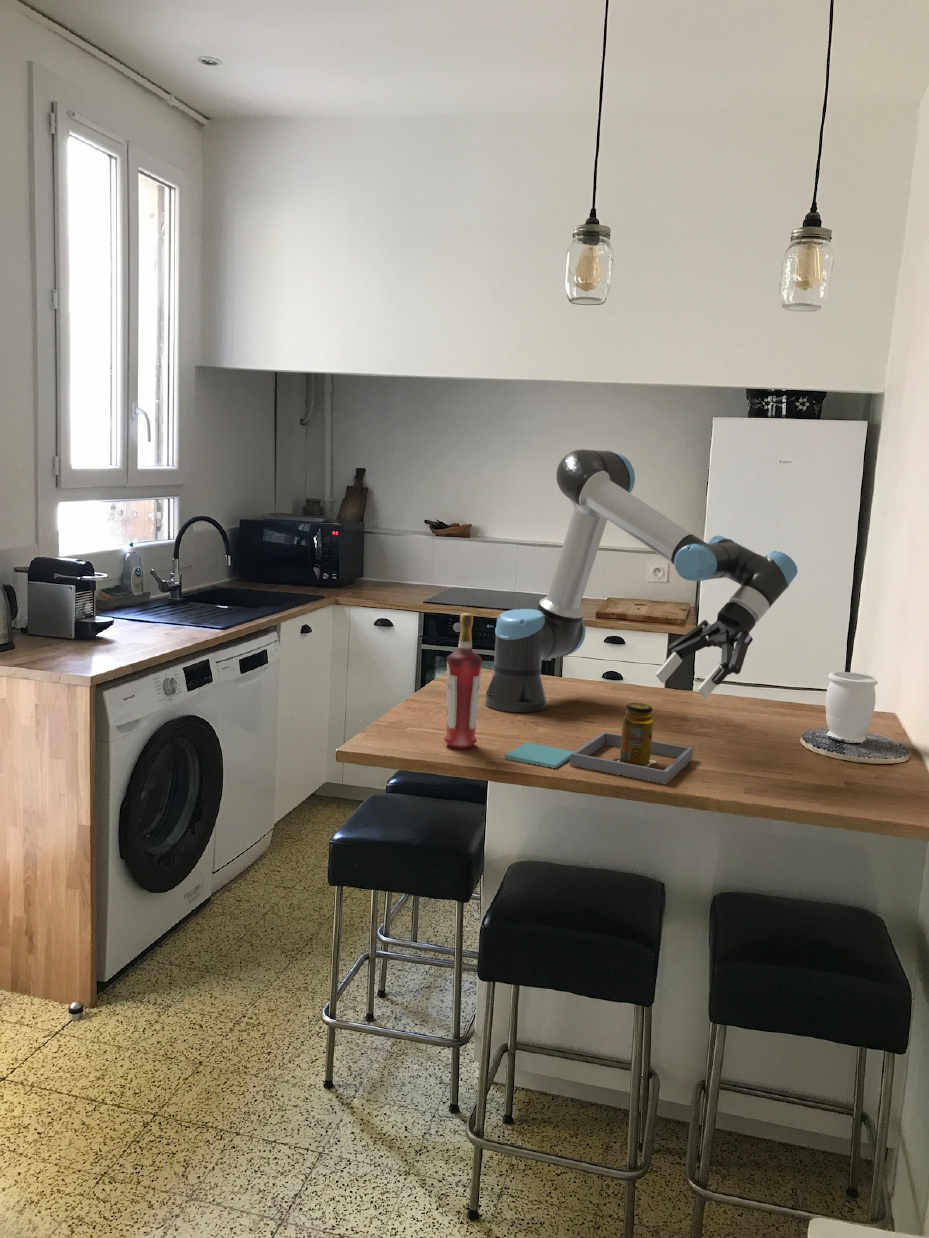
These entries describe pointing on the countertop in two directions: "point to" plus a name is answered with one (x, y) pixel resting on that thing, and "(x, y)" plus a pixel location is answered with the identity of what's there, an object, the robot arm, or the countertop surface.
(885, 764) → the countertop surface
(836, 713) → the jar
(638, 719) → the condiment
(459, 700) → the liquor
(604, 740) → the frame
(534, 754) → the coaster
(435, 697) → the countertop surface
